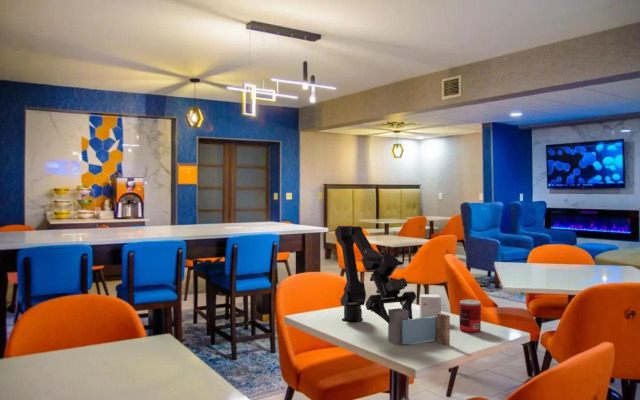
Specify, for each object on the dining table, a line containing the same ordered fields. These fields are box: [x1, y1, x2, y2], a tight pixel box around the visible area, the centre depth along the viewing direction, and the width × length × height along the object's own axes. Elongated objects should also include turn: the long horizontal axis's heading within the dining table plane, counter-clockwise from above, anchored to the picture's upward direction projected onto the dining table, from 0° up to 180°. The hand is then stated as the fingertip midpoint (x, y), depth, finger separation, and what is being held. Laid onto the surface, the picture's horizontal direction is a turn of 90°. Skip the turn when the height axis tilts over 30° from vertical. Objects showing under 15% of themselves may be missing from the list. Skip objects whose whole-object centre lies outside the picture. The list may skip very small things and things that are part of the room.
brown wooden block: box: [436, 312, 451, 346], centre depth 171 cm, size 5×1×10 cm, turn 25°
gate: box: [401, 316, 437, 345], centre depth 172 cm, size 15×1×8 cm, turn 115°
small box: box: [419, 293, 442, 318], centre depth 201 cm, size 8×6×10 cm
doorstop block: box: [387, 307, 409, 345], centre depth 173 cm, size 5×5×11 cm
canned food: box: [459, 299, 482, 334], centre depth 187 cm, size 8×8×11 cm
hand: (400, 321), depth 171 cm, fingers open, 9 cm apart
